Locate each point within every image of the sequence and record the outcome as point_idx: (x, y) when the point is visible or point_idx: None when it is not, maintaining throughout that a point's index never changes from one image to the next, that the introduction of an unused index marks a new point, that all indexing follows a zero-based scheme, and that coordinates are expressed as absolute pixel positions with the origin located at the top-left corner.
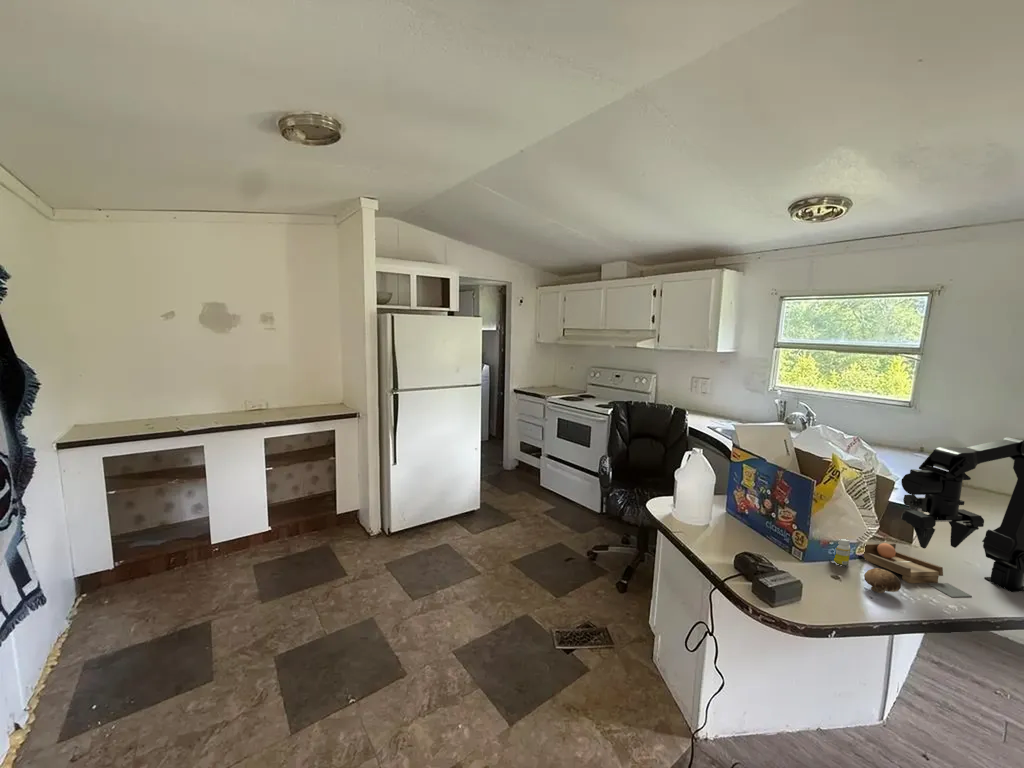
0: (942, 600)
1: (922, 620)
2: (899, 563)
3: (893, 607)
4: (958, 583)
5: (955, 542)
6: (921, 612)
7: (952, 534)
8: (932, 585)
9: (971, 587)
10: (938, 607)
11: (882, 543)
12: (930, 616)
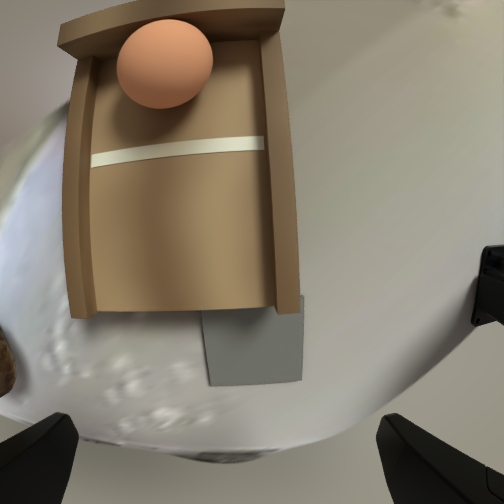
0: (161, 390)
1: None
2: (158, 171)
3: None
4: (362, 285)
5: (392, 476)
6: None
7: (443, 497)
8: (204, 318)
9: (382, 312)
10: (117, 412)
11: (142, 30)
12: None
